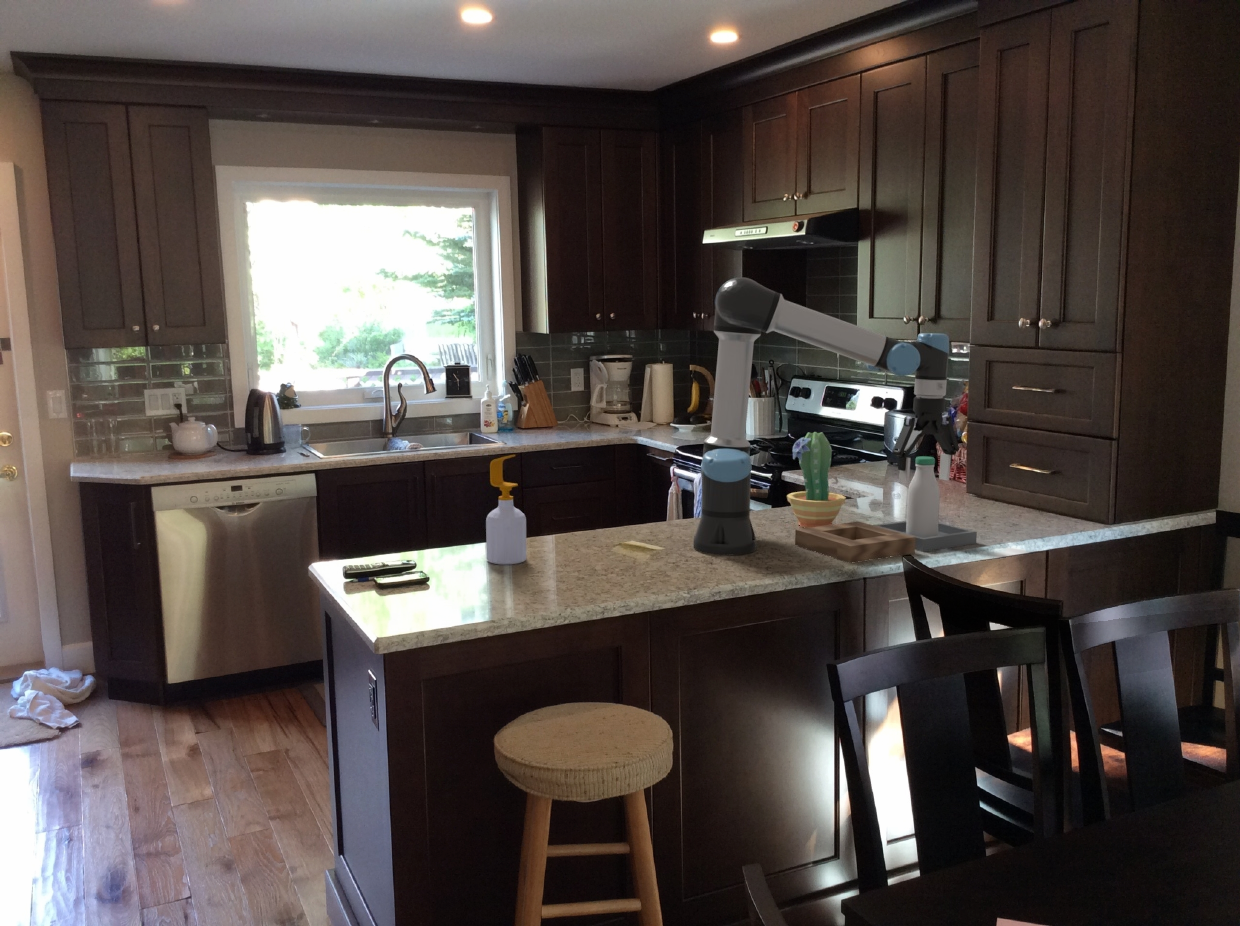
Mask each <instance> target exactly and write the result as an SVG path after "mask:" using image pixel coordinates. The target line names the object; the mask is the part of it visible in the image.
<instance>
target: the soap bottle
mask: <svg viewBox="0 0 1240 926" xmlns="http://www.w3.org/2000/svg"><path fill="white" fill-rule="evenodd" d="M514 457H516V454H511V455H505V456H501V457H498V458H495V459H492V460H491V461H490V463H489V478H490V479H489V481H490V485H491V486H493V487H495V488H499V491H501V495H500V496H498V505H497V507H496V508H494V509H492V510H491V511H490V512H489V513H488V514H487V516H486V518H485V519H486V520H485V529H486V530H485V532H486V536H485V538H486V539H485V541H486V560H487V561H488V563H491V564H495V565H504V566H507V565H509V566H510V565H518V564H522V563H523V562H526V560H527V517H526V515H525V513H523V512H522V511H521V510H520V509H519V508H516V507H515V506H514V496H513V495H510V491H512V490H513V489H512V488H515V487H518V486H519V485H518V483H515V482H507V481H505V480H504V477H503V470H504V469H503V464H504V461H505V460H507V459H510V458H514Z"/></svg>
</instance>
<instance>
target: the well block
mask: <svg viewBox="0 0 1240 926" xmlns="http://www.w3.org/2000/svg"><path fill="white" fill-rule="evenodd" d="M873 525H874V524H869V523H865V522H862V521H853V522H852V521H851V522H843V523H835V524H832V525H826V526H818V527H811V528H797V529H794V530H795V532H794V533H795V535H794V537H795V538H794V546H795V545H798V546H799V548H801V547H803V548H802V549H805V548H807V549H806V550H808V549H809V550H808V551H811V550H812V552H814V551H816V552H815V553H817V552H818V554H820V553H822V554H821V555H823V554H824V555H823V556H826V555H827V557H829V556H831V557H830V558H832V557H833V559H835V558H836V560H838V559H840V560H839V561H841V562H842V561H843V562H844V561H845V562H844V563H848V562H849V563H848V564H853V563H852V562H855V563H859V562H858V561H862V562H866V561H865V560H868V561H870V560H869V559H875V560H879V559H878V558H881V559H886V557H888V558H891V557H890V556H895V557H900V556H907V555H913V554H915V553H916V550H915V538H916V537H914V536H910V535H906V534H903V533H899V532H895V531H892V530H888V529H884V528H881V527H877V526H873ZM798 546H797V547H798ZM899 555H900V556H899Z"/></svg>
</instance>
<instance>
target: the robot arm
mask: <svg viewBox="0 0 1240 926" xmlns="http://www.w3.org/2000/svg"><path fill="white" fill-rule="evenodd" d="M714 306H715V310H714V311H715V312H714V321H713V322H714V324H713V333H714V334H715V335H716V337H717V338H718V348H717V349H718V350H717V359H716V360H717V361H716V371H715V380H714V381H715V383H714V393H713V394H714V395H713V406H712V415H711V416H712V418H711V427H710V428H711V430H710V434H709V435H708V437H706V438H705V439H704V440H703V448H702V449H703V451H702V458H701V459H702V460H701V464H700V476H701V503H700V504H701V507H700V509H701V514H700V518H699V521H698V522H699V523H698V525H697V528H696V531H695V535H694V537H693V549H694V550H695V551H697V552H700V553H704V554H708V555H716V556H736V555H737V556H740V555H746V554H750V553H753V552H755V551H757V538H756V535H755V531H754V528H753V527H754V526H753V525H752V522H751V521H752V520H751V516H750V515H751V475H752V473H751V472H752V459H751V456H750V454H751V453H750V452H751V443H750V442H749V440H747V438H746V429H747V421H748V420H747V418H748V409H749V408H748V407H749V398H750V397H749V396H750V387H751V386H750V385H751V376H752V366H753V365H752V364H753V355H754V354H753V353H754V343H755V341H756V340H757V339H758V338H760V337H761V334H762V333H766V334H768V333H771V332H776V333H778V334H781V335H785V336H788V337H790V338H793V339H795V340H798V341H801V342H805V343H806V344H808V345H809V344H810V345H813V346H816V347H817V348H820V349H821V348H822V349H824V350H826V351H829V352H833V353H835V354H838V355H840V356H844V357H847V358H849V359H852V360H855V361H856V362H857V361H858V362H861V363H864V364H865V365H866V368H867V370H869V371H870V372H871V371H873V372H878V373H879V372H887V373H890V374H892V375H894V376H898V377H906V376H909V375H912V374H914V373H915V376H914V377H915V378H914V389H913V391H914V392H913V394H914V395H915V396H914V398H913V405H912V406H913V407H912V410H913V412H914V414H915V415H914V417H913V416H907V415H906V416H904V419H903V426H902V428H901V430H900V433H899V435H898V437H897V439H896V442H895V444H894V446H893V449H892V451H891V453H892V455H894V456H895V457H898V463H897V464H898V466H897V468H898V471H899V473H898V483H899V484H902V485H910V474H911V473H910V472H911V457H909V456H910V455H911V453H912V451H913V449H914V448H915V446H916V445H917V444H918V442H919V441H920V440H921V438H922V437H924V436H928V435H933V436H934V439H935V440H936V442H937V443H938V445H939V447H940V449H941V450H942V452H943V453H940V457H939V458H940V461H939V473H938V480H940V481H946V482H949V481H950V475H951V467H952V463H953V462H952V461H953V456H955V455H956V454H957V452H959V451H960V447H959V446H960V445H959V443H958V440H957V436H956V433H955V429H954V426H953V416H952V415H950V414H949V415H948V414H944V413H945V411H946V399H945V396H946V395H947V383H948V378H947V377H948V366H949V356H950V337H949V335H948V334H946V333H939V332H938V333H932V332H929V333H928V332H927V333H926V332H923V333H919V334H918V335H917V339H916V340H910V341H908V340H897V339H895V338H892V337H889V336H886V335H884V334H881V333H880V332H879V333H878V332H875V331H873V330H870V329H867V328H864V327H861V326H859V325H856V324H853V323H851V322H847V321H844V320H843V319H842V320H841V319H839V318H836V317H834V316H831V315H828V314H825V313H822V312H820V311H817V310H814V309H811V308H808V307H805V306H802V305H801V304H798V303H794V302H792V301H789V300H787V299H785V298H784V296H783V294H782V293H779V292H777V291H775V290H772V289H769V288H767V287H765V286H764V285H762V284H760V283H758V282H757V281H755V280H753V279H752V278H749V277H742V276H741V277H734V278H731V279H729V280H727V281H726V282H724V283H723V284H721V286H720V287H719V289H718V290H717V292H716V295H715V299H714Z"/></svg>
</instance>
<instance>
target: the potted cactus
mask: <svg viewBox="0 0 1240 926" xmlns="http://www.w3.org/2000/svg"><path fill="white" fill-rule="evenodd" d="M832 453H833V449H832V446H831V444H830V441H829V440H828V438H827V437H826V436H825V434H824V432H817V431H814V432H807V433H806V435H805V436H803V437H800V438H799V439H798V440H796V441H795V442H794V444H793V446H792V459H793V460H796V458H798V461H799V462H798V463H799V467H800V469H801V471H802V472H801V473H802V475H803V480H804V487H805V490H804V491H797V492H796V491H795V492H791V493H788V494H787V495H786V499H787V502H788V503H790V506H791V509H792V512H793V514H794V515H795V518H796V520H797V521H798V524H799V525H800V526H801V527H800V526H799V527H800V528H802V527H805V528H811V527H818V526H826V525H833V521H834V520H835V519H836V518H837V517H838V515H839V513H840V511H841V508H842V506H843V505H844V504H845V503H846V499H847V497H846V496H844V495H843V494H841V493H840V494H839V493H835V492H830V491H829V472H830V469H831V464H832ZM798 524H797V525H798Z"/></svg>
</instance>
